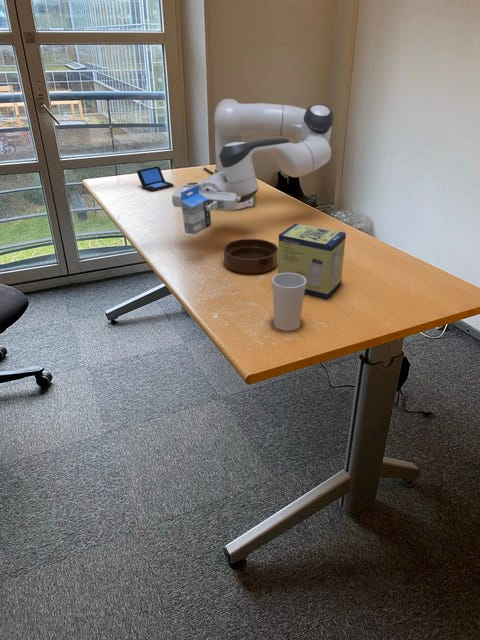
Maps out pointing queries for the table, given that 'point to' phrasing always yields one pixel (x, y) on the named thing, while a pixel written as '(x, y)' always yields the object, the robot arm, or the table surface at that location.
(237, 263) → the bowl
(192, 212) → the label tape box
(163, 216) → the table surface
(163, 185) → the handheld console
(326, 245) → the protein box
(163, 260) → the table surface
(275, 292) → the cup
